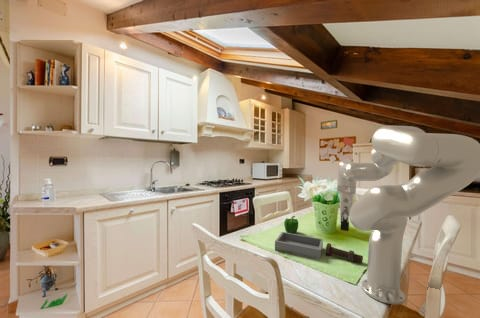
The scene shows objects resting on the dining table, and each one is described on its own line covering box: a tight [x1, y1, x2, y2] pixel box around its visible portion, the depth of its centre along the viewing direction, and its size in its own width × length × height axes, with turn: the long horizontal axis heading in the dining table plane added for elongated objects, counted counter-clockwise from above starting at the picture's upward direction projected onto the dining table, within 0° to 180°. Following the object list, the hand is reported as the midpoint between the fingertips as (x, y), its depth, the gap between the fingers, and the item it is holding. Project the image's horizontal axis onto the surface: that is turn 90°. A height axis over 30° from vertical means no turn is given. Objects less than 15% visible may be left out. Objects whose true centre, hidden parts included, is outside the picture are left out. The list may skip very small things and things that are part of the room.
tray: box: [274, 231, 324, 261], centre depth 109 cm, size 14×21×4 cm, turn 65°
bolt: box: [325, 242, 364, 264], centre depth 100 cm, size 6×5×15 cm
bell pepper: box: [283, 215, 299, 234], centre depth 131 cm, size 8×8×10 cm
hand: (344, 226), depth 99 cm, fingers open, 9 cm apart
